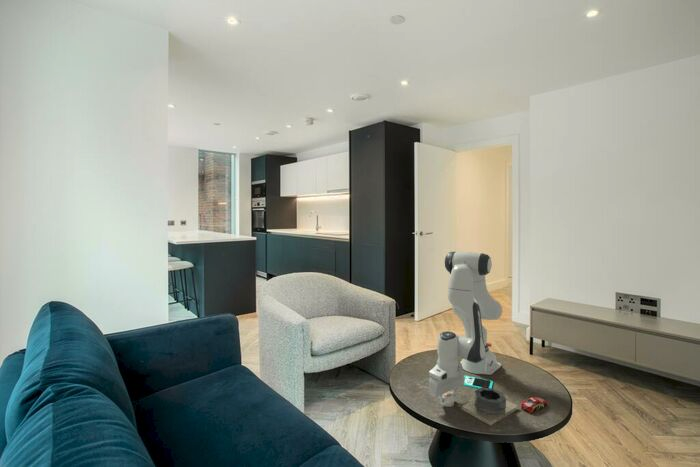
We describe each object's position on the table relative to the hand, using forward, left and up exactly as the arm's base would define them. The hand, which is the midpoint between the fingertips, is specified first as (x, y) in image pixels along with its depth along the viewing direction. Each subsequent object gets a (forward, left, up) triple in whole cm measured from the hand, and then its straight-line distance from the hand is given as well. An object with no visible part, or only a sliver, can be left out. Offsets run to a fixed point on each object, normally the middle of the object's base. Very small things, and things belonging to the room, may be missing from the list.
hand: (447, 399), depth 158 cm
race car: (-28, +24, -2) cm, 37 cm away
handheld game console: (-26, -4, -2) cm, 26 cm away
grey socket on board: (-11, +14, -2) cm, 18 cm away
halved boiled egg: (0, 0, -2) cm, 2 cm away
